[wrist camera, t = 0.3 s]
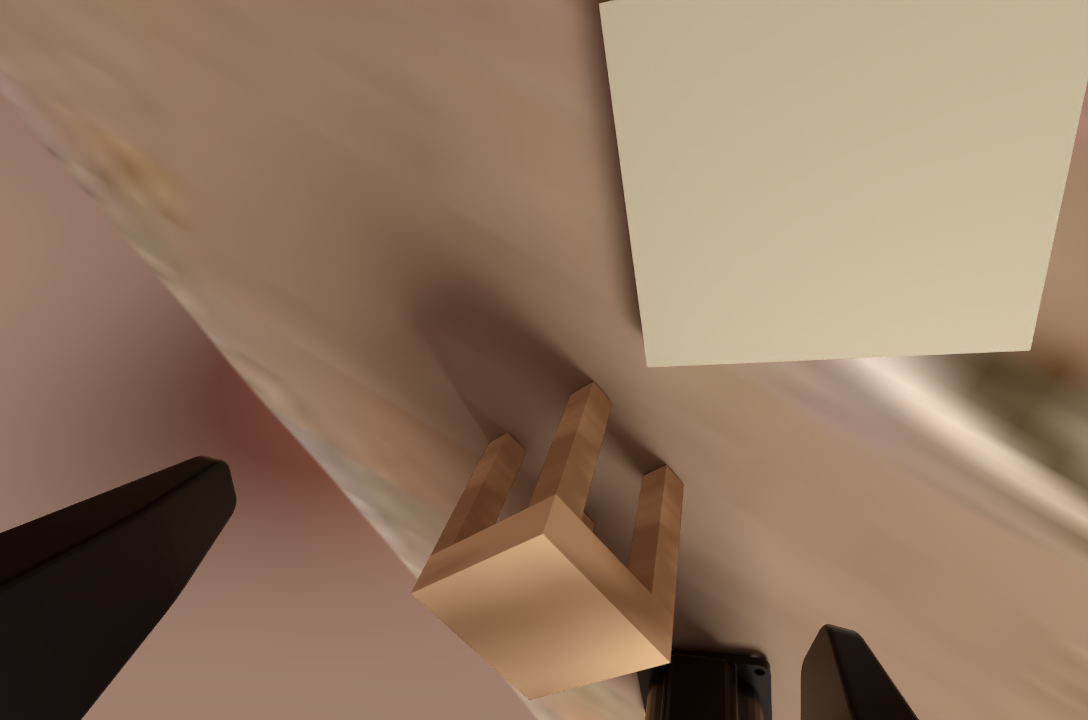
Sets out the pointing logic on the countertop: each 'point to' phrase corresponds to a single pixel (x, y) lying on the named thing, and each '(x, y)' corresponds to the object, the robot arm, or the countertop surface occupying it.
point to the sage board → (842, 171)
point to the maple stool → (557, 566)
